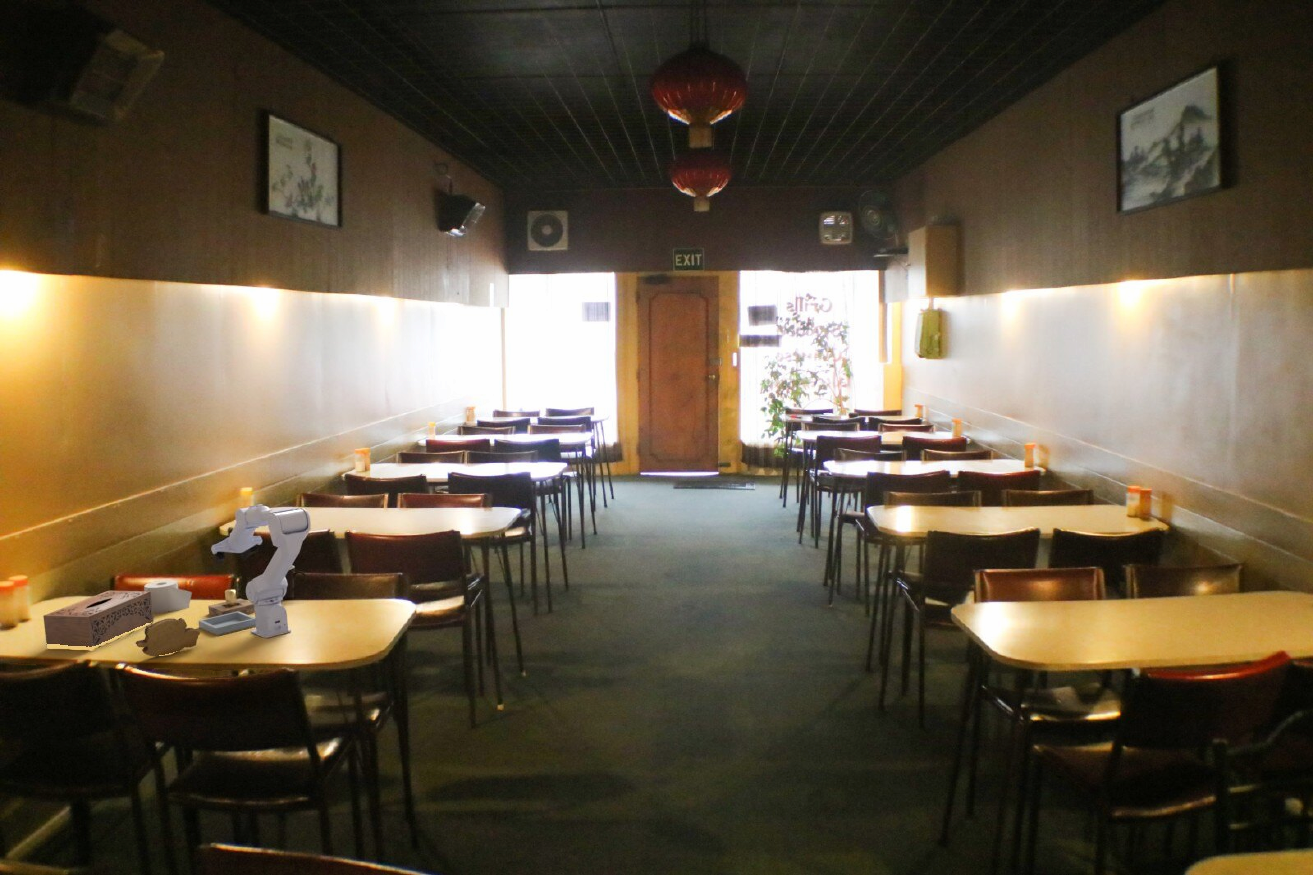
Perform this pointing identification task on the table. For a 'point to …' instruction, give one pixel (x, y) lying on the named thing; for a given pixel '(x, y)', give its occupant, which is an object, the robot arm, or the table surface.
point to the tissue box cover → (98, 618)
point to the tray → (227, 623)
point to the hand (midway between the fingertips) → (230, 559)
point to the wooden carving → (168, 637)
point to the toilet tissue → (167, 596)
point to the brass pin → (230, 598)
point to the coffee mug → (291, 582)
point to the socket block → (231, 608)
